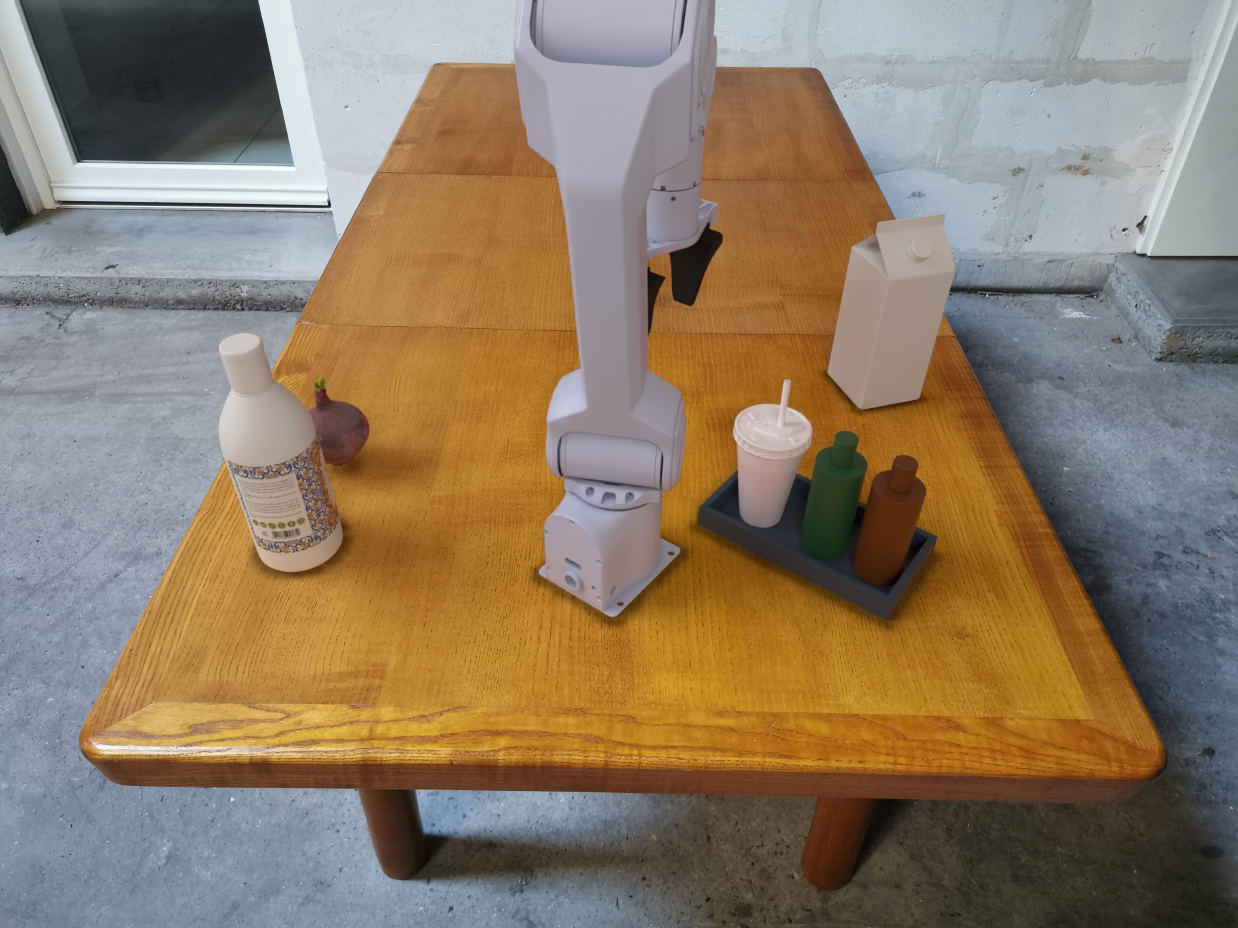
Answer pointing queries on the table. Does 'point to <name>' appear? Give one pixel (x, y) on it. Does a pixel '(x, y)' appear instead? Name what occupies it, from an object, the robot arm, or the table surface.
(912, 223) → the milk carton
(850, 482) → the green bottle
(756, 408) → the smoothie
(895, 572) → the brown bottle
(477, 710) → the table surface
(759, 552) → the tray
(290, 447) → the bath foam
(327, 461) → the vegetable
